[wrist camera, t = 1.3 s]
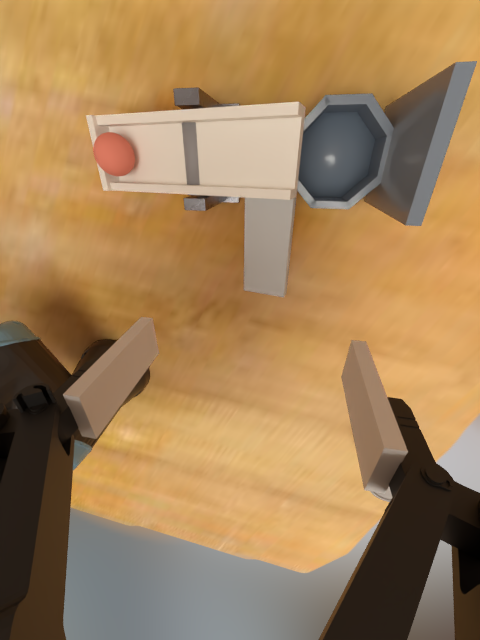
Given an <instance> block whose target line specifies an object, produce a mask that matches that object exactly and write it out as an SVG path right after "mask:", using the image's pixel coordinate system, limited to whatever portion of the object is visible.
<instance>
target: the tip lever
mask: <svg viewBox="0 0 480 640" xmlns="http://www.w3.org/2000/svg"><path fill="white" fill-rule="evenodd" d="M305 109H306V107H305V106H303V105H302V104H301V103H300V102H287V103H272V104H258V105H243V106H228V107H214V108H199V109H182V110H170V111H156V112H141V113H127V114H112V115H98V116H95V115H86V118H87V122H88V126H89V131H90V135H91V139H92V144H93V147H94V143H95V140H96V139H97V137H98V136H100V135H101V134H103V133H106V132H113V133H117V134H119V135H121V136H122V137H124V138H125V139H126V140H127V141H128V142H129V143H130V145H131V147H132V149H133V151H134V155H135V163H134V167H133V169H132V170H131V171H130V172H129V173H128V174H127V175H124V176H113V175H110V174H108V173H106V172H105V171H104V170H103V169H102V168H101V167H100V166H99V165H98V163H97V165H98V170H99V174H100V178H101V182H102V187H103V190H104V191H111V190H114V191H133V192H152V193H170V194H188V195H194V196H198V195H208V196H227V197H245V234H244V290H245V291H251V292H256V293H262V294H268V295H273V296H279V297H284V296H285V295H286V292H287V282H288V273H289V263H290V253H291V244H292V234H293V224H294V215H295V205H296V195H297V186H298V176H299V166H300V157H301V147H302V138H303V128H304V118H305Z"/></svg>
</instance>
